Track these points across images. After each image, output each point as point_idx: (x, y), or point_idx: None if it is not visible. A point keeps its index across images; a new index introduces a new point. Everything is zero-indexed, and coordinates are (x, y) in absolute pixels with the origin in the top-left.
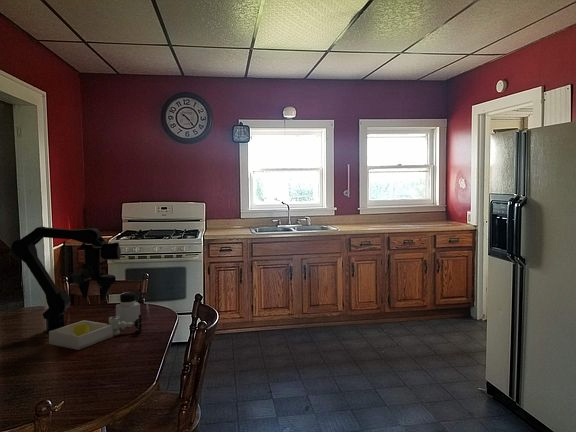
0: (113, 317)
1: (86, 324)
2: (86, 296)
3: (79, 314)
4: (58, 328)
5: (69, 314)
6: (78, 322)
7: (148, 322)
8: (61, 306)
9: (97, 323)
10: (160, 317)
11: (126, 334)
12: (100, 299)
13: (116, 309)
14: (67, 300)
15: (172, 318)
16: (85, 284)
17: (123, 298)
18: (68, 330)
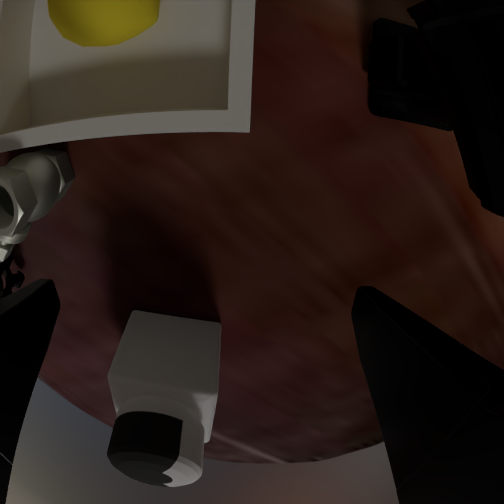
0: (15, 216)
1: (60, 17)
2: (356, 325)
3: (461, 322)
4: None
5: (493, 304)
6: (237, 66)
7: (84, 352)
8: (445, 11)
9: (77, 120)
10: (108, 400)
11: None
12: (42, 285)
13: (207, 371)
14: (501, 151)
15: (67, 397)
16: (434, 476)
17: (136, 433)
18: None
